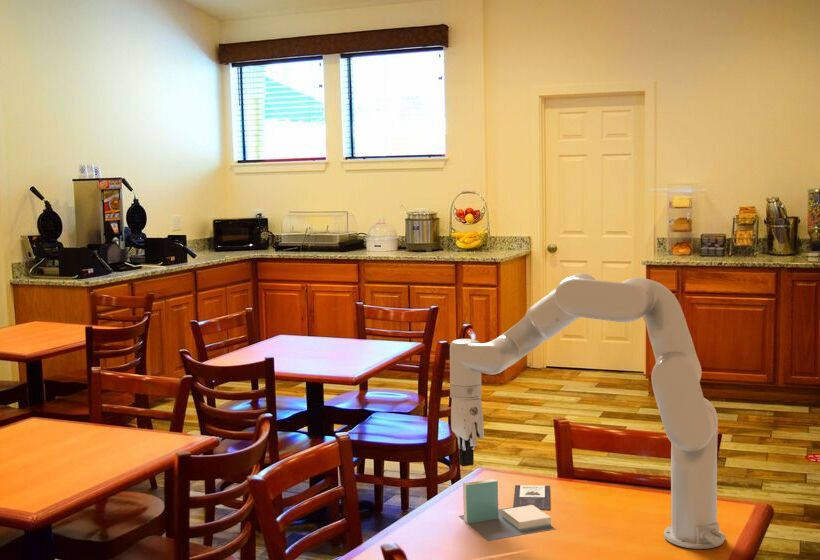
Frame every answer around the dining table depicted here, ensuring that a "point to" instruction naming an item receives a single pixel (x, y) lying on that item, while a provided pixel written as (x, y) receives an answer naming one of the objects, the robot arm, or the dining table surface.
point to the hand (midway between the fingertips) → (466, 464)
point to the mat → (501, 528)
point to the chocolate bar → (532, 496)
